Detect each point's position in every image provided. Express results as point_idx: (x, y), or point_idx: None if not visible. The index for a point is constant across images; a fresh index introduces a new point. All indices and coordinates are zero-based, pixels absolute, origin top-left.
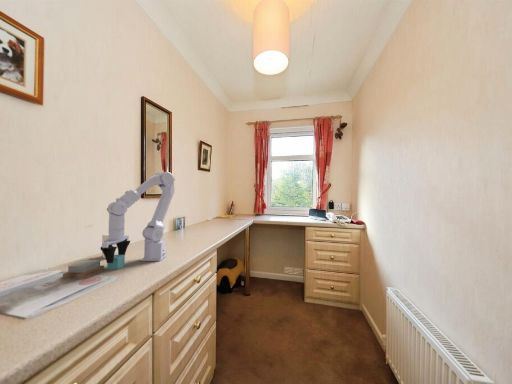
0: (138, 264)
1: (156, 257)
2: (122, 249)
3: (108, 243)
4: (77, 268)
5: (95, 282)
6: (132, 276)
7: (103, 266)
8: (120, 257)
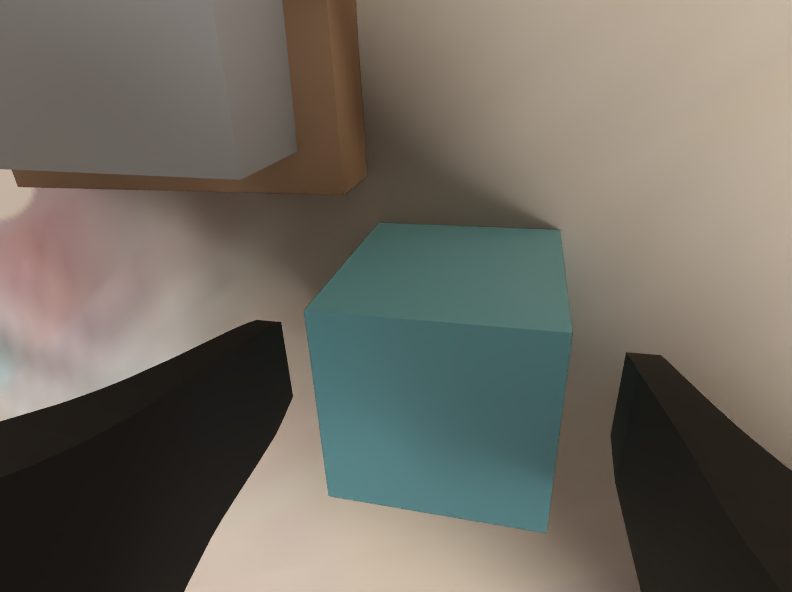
0: (581, 528)
1: None
2: (662, 577)
3: None
4: None
5: (47, 331)
6: (235, 555)
7: (335, 190)
8: (405, 496)
